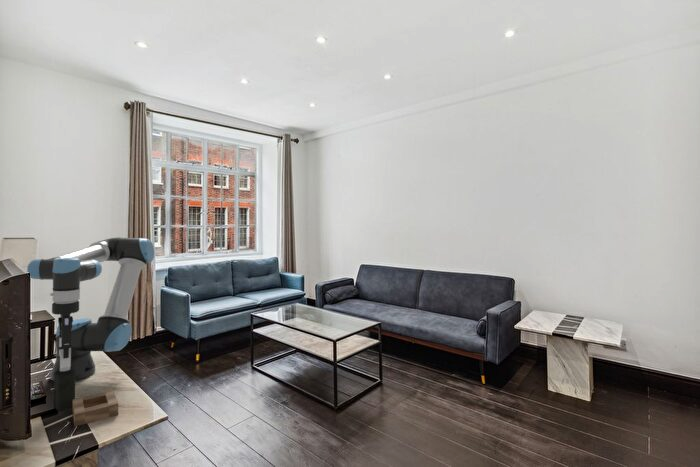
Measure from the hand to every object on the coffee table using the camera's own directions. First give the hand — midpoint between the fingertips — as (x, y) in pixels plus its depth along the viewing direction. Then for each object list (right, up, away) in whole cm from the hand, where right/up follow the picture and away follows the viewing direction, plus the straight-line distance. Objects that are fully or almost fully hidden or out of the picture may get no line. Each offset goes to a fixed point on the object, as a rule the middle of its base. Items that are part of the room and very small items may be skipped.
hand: (64, 360), depth 125 cm
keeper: (+12, -18, -2) cm, 22 cm away
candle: (-1, -17, +1) cm, 17 cm away
